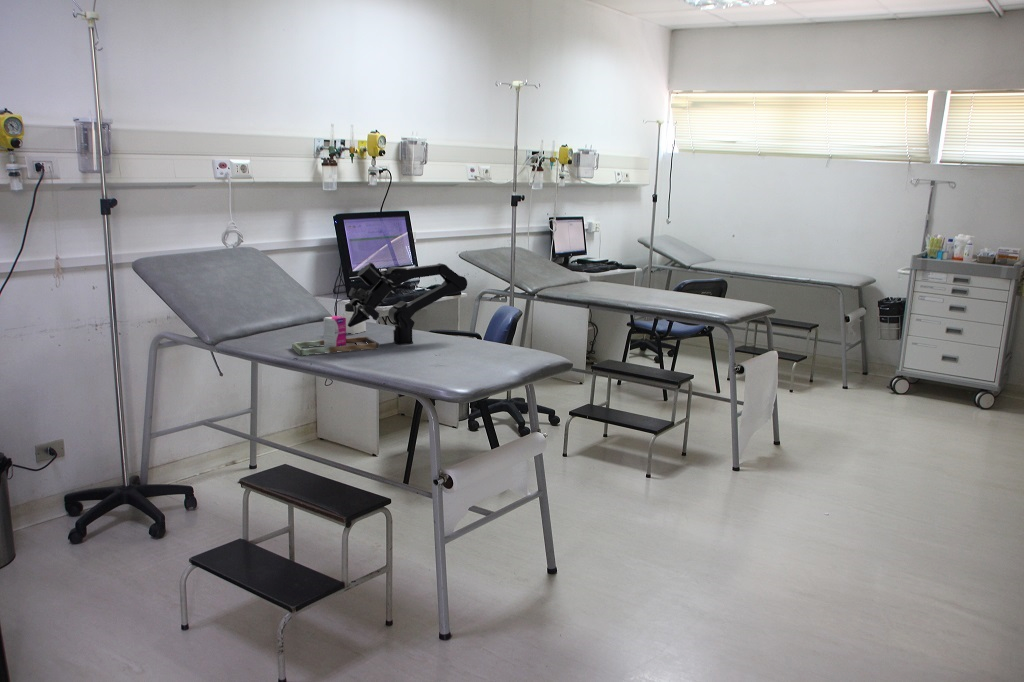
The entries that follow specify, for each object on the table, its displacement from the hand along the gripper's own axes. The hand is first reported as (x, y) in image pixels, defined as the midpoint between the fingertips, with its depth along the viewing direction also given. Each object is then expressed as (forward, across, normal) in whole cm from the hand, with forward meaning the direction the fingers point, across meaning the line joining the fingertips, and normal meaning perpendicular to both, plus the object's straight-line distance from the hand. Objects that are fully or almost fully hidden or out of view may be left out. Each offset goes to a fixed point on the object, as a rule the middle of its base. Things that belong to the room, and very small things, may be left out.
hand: (348, 326), depth 295 cm
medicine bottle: (-1, -28, +12) cm, 31 cm away
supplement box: (+9, 0, +2) cm, 10 cm away
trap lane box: (+9, 0, +2) cm, 9 cm away
